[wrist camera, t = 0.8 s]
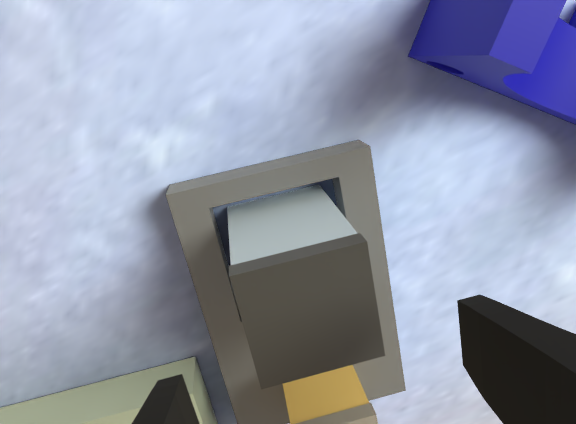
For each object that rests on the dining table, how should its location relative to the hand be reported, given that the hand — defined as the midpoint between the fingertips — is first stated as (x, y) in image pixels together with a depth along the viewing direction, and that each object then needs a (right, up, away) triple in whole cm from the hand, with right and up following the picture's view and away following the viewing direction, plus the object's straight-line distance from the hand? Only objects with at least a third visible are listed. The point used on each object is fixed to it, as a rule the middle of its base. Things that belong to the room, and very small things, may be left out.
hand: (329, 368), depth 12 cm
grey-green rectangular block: (-1, +3, +9) cm, 9 cm away
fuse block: (-1, 0, +9) cm, 9 cm away
